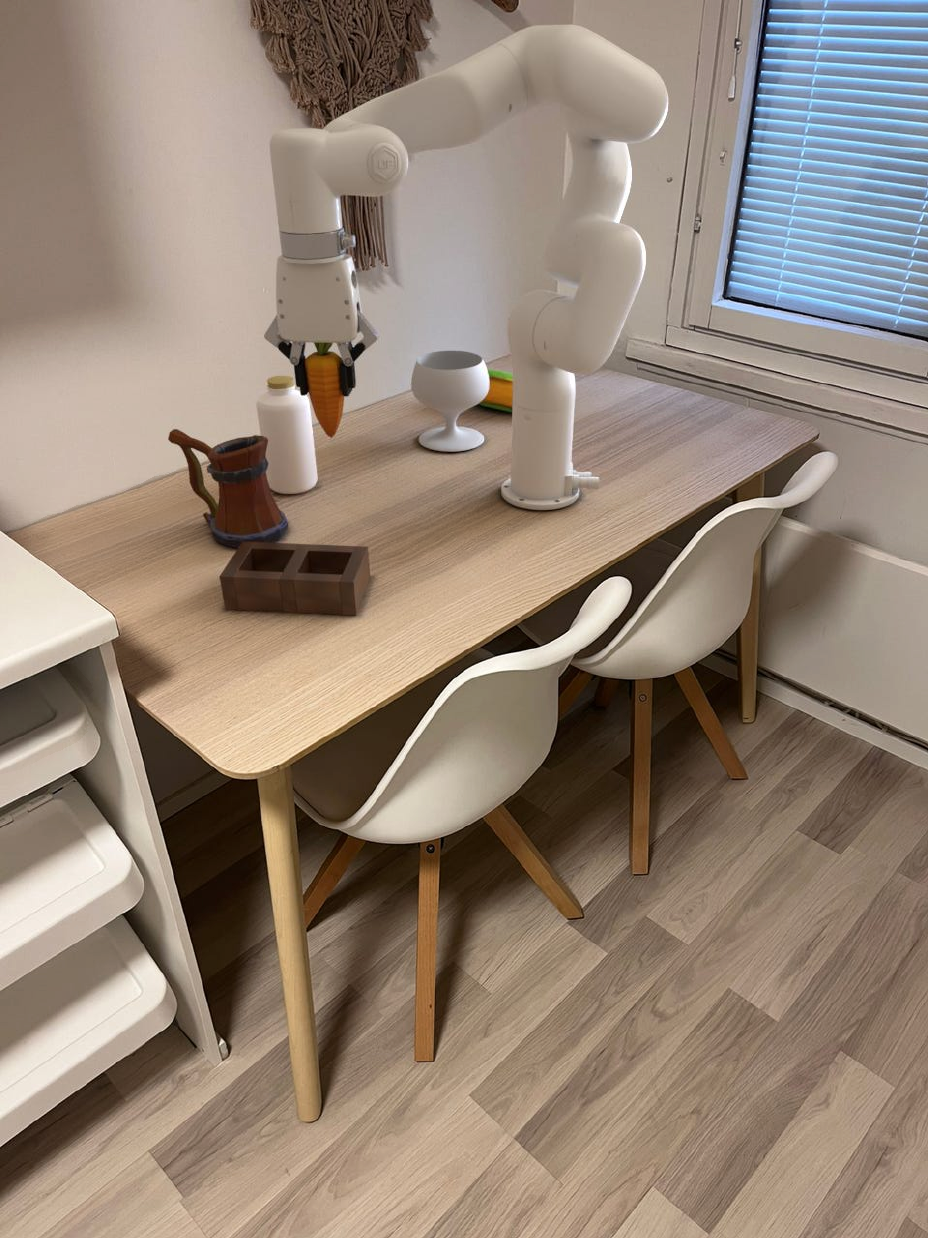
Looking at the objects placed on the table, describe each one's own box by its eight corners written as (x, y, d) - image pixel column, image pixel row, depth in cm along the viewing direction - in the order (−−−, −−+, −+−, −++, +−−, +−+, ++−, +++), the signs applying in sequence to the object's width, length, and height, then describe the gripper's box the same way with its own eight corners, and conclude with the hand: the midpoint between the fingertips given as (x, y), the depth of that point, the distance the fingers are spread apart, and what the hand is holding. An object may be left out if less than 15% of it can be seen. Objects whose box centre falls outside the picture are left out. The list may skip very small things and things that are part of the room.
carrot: (313, 431, 124) (301, 320, 115) (350, 429, 124) (340, 318, 116) (311, 445, 119) (298, 330, 111) (349, 443, 120) (339, 328, 112)
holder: (370, 578, 124) (368, 546, 121) (356, 615, 116) (353, 582, 113) (247, 573, 125) (242, 541, 123) (225, 609, 117) (219, 576, 115)
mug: (162, 532, 136) (141, 438, 128) (212, 502, 145) (196, 412, 137) (257, 557, 129) (242, 459, 121) (304, 524, 138) (293, 431, 130)
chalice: (487, 426, 172) (487, 347, 164) (491, 454, 160) (492, 371, 152) (414, 428, 172) (410, 349, 164) (412, 456, 160) (409, 372, 152)
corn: (474, 357, 183) (560, 374, 174) (475, 393, 188) (559, 411, 178) (453, 369, 178) (540, 387, 169) (455, 406, 183) (540, 425, 173)
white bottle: (308, 498, 146) (295, 389, 136) (260, 494, 147) (244, 386, 137) (325, 477, 153) (314, 372, 143) (278, 474, 154) (265, 370, 144)
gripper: (387, 239, 111) (395, 384, 121) (253, 239, 112) (271, 382, 122) (376, 251, 105) (385, 403, 114) (234, 250, 106) (255, 400, 116)
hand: (326, 391), depth 118 cm, fingers closed on carrot, 4 cm apart
